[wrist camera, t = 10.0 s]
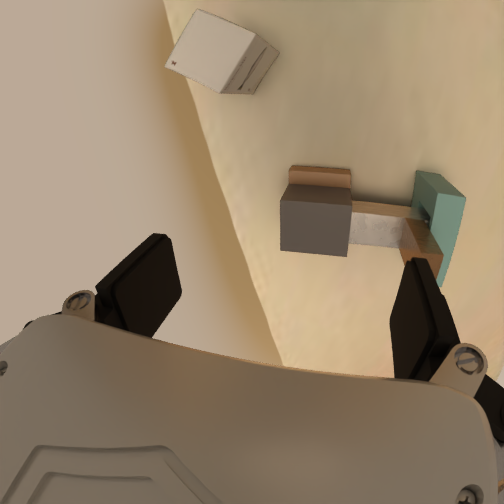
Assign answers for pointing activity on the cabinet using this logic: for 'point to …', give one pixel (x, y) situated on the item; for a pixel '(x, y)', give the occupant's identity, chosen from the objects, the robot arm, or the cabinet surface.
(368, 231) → the multicoloured piece
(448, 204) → the socket
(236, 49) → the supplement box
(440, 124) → the cabinet surface
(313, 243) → the grey block with backplate
